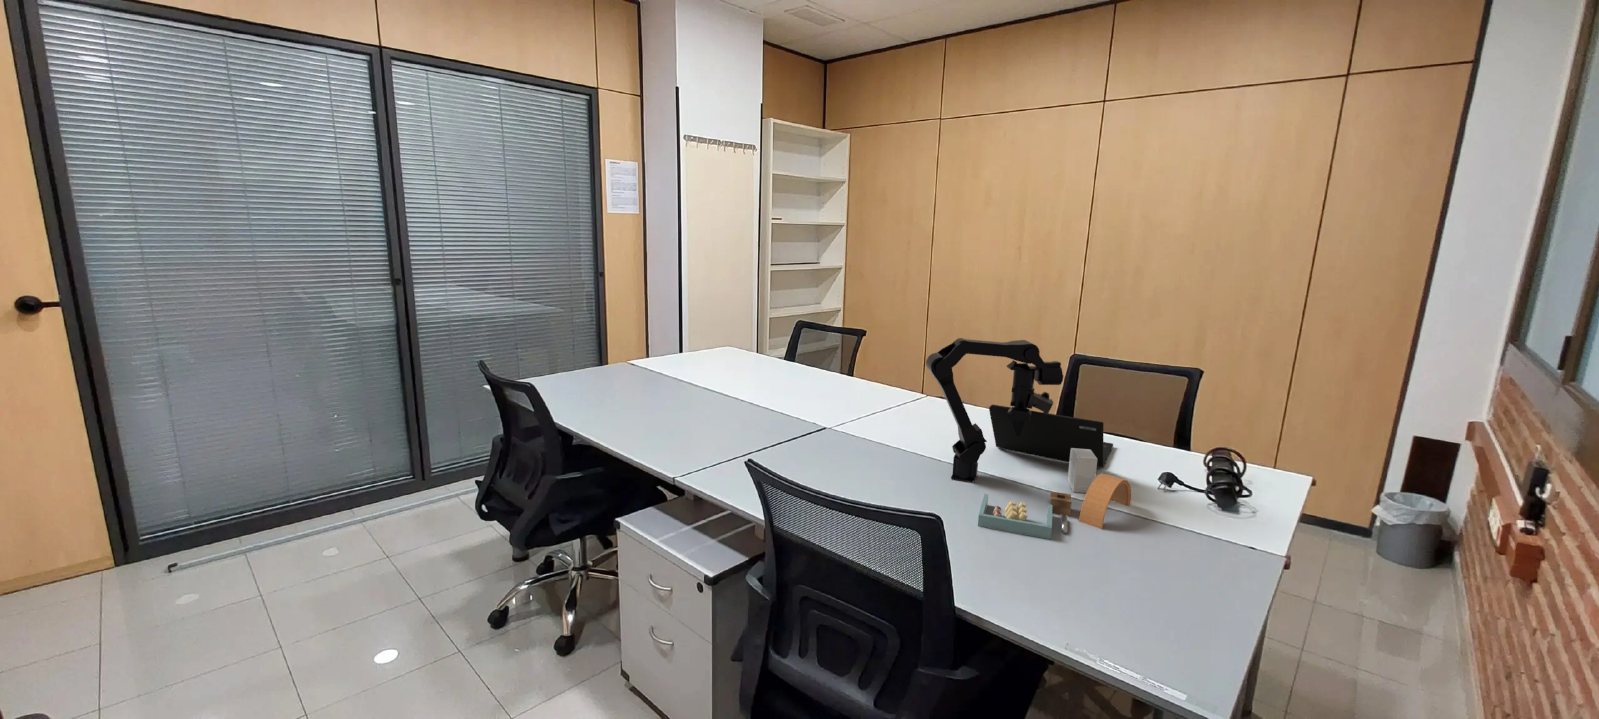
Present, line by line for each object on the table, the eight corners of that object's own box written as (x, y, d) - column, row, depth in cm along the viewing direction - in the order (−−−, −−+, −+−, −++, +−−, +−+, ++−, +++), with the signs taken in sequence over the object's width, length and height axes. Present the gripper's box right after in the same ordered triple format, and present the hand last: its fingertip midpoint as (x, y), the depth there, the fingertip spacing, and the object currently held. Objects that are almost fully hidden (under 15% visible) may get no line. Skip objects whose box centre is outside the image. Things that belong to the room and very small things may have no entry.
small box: (1093, 494, 178) (1098, 459, 176) (1072, 492, 179) (1076, 457, 177) (1087, 482, 186) (1091, 449, 183) (1066, 481, 187) (1070, 447, 184)
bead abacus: (1026, 501, 162) (994, 497, 164) (1028, 514, 155) (994, 509, 157) (1025, 518, 163) (992, 514, 165) (1026, 532, 156) (992, 527, 158)
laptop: (1113, 448, 215) (1121, 393, 211) (1096, 486, 184) (1104, 422, 180) (1014, 430, 233) (1018, 379, 228) (982, 461, 202) (987, 403, 198)
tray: (977, 525, 158) (978, 514, 158) (983, 504, 171) (984, 493, 170) (1050, 539, 152) (1051, 527, 152) (1051, 515, 165) (1052, 504, 164)
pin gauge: (1060, 533, 155) (1061, 528, 155) (1060, 519, 162) (1061, 514, 162) (1067, 534, 155) (1067, 529, 154) (1066, 520, 162) (1067, 515, 162)
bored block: (1049, 512, 166) (1050, 498, 165) (1049, 505, 171) (1051, 491, 170) (1069, 516, 164) (1071, 502, 163) (1069, 508, 169) (1071, 494, 168)
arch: (1077, 521, 162) (1082, 485, 160) (1108, 499, 175) (1113, 465, 173) (1101, 529, 158) (1106, 492, 156) (1131, 505, 171) (1135, 471, 169)
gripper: (1052, 395, 171) (1046, 450, 175) (1053, 380, 188) (1048, 430, 191) (1009, 391, 175) (1004, 444, 179) (1013, 376, 192) (1009, 425, 195)
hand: (1018, 435), depth 186 cm, fingers closed
